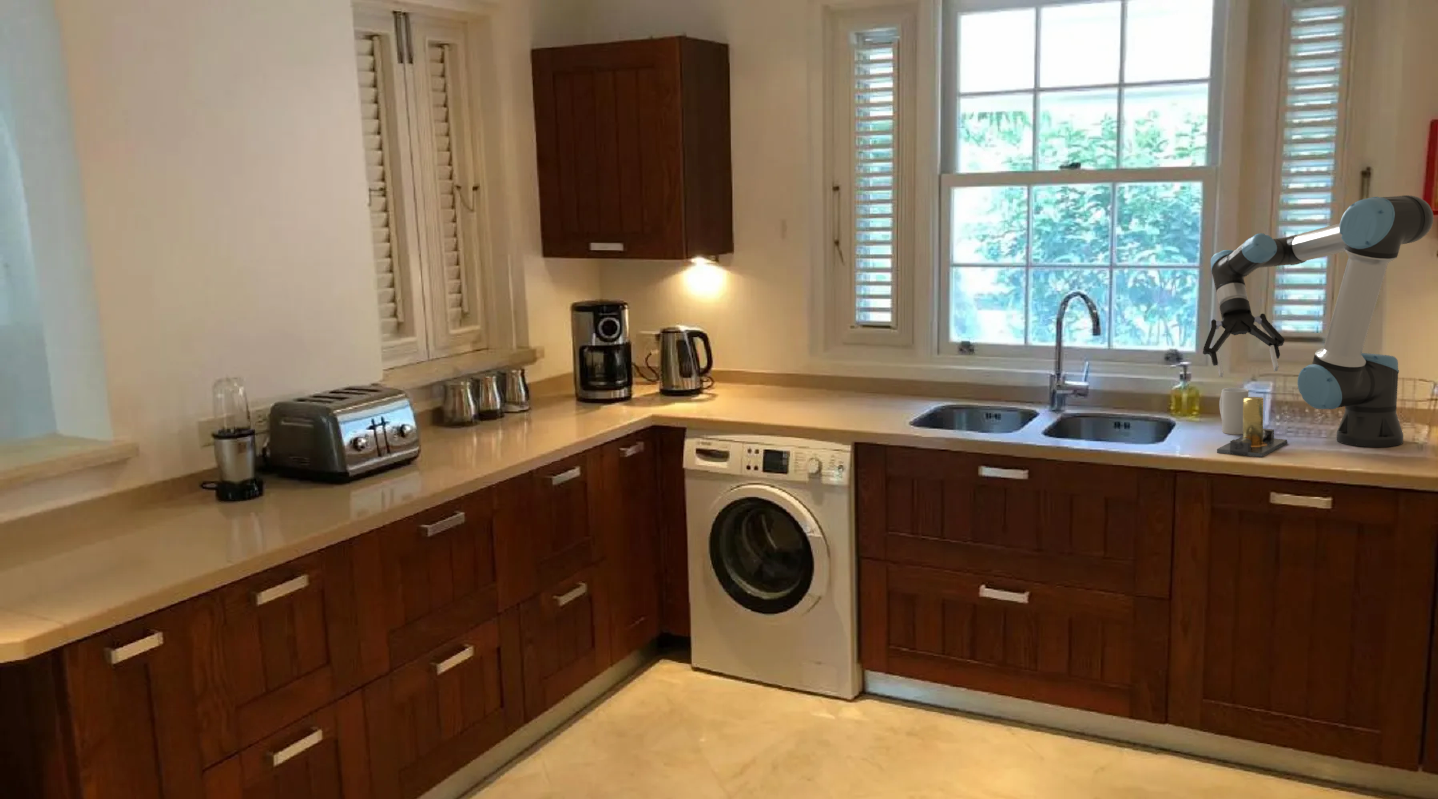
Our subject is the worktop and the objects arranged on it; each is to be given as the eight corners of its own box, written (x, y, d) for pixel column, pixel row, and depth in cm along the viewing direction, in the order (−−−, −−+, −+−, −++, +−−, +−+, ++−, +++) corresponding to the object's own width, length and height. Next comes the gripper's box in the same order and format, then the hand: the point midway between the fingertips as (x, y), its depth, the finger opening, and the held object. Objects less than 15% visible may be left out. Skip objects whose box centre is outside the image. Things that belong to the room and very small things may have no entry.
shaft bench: (1243, 439, 311) (1244, 426, 311) (1287, 443, 304) (1287, 430, 303) (1216, 452, 298) (1217, 439, 297) (1261, 457, 290) (1261, 444, 290)
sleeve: (1265, 442, 301) (1266, 397, 299) (1258, 446, 297) (1259, 400, 296) (1246, 441, 304) (1247, 396, 302) (1239, 444, 301) (1240, 399, 299)
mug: (1253, 433, 318) (1254, 390, 316) (1231, 435, 316) (1231, 392, 314) (1230, 427, 327) (1231, 385, 325) (1209, 429, 326) (1209, 387, 324)
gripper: (1281, 304, 317) (1297, 372, 308) (1184, 315, 323) (1197, 383, 314) (1285, 290, 310) (1301, 360, 301) (1186, 302, 317) (1200, 371, 307)
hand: (1248, 372), depth 307 cm, fingers open, 13 cm apart
